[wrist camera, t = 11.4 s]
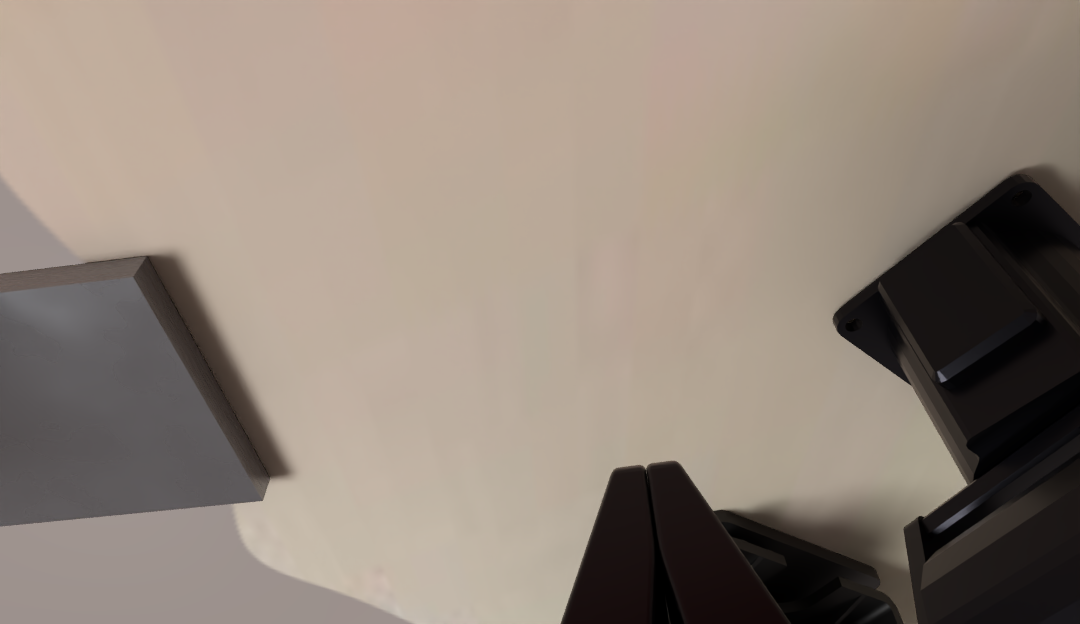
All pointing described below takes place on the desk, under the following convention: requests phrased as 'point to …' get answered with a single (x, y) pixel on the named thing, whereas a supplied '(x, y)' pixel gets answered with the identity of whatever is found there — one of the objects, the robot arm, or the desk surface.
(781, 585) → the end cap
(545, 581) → the desk surface
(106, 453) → the rack deck
